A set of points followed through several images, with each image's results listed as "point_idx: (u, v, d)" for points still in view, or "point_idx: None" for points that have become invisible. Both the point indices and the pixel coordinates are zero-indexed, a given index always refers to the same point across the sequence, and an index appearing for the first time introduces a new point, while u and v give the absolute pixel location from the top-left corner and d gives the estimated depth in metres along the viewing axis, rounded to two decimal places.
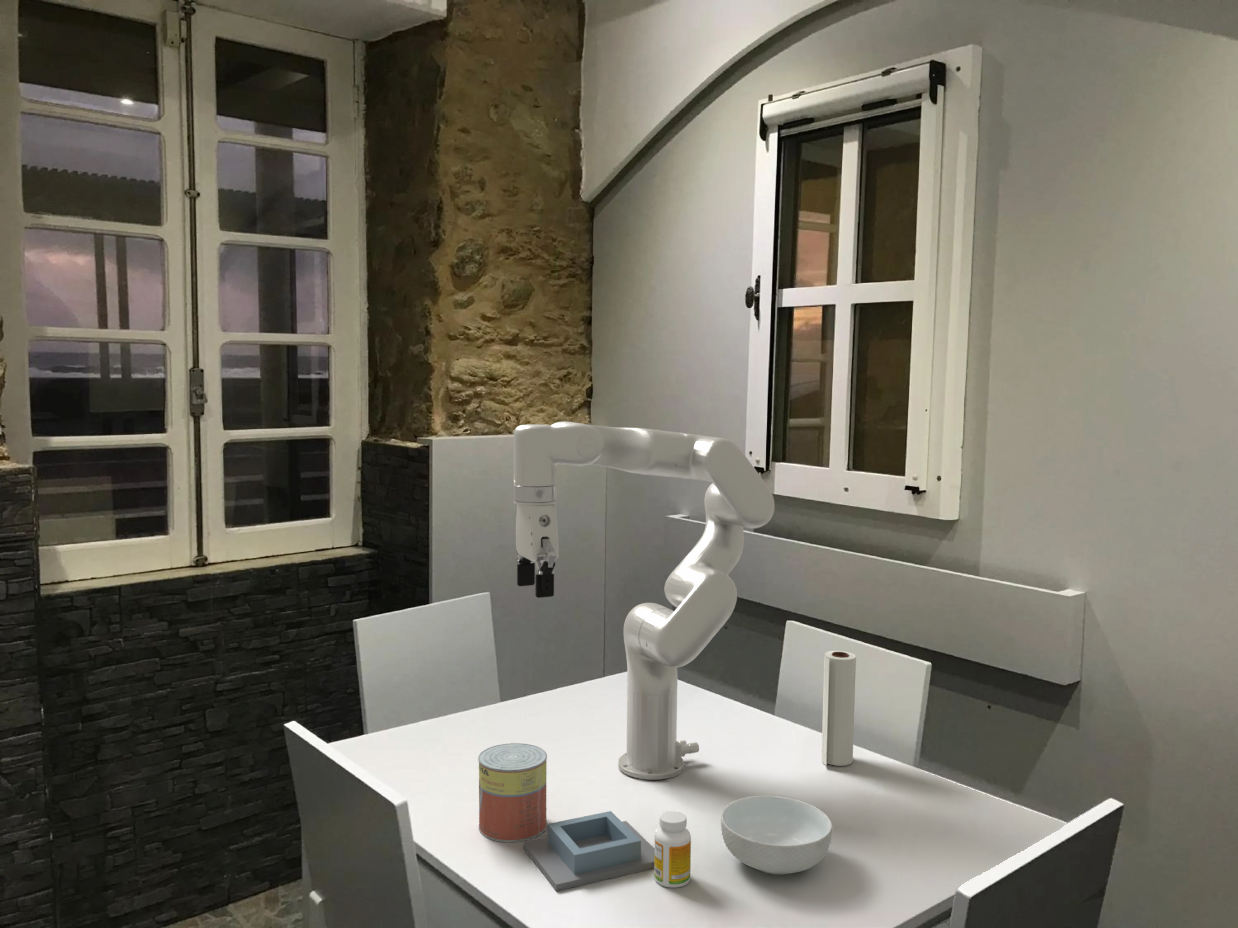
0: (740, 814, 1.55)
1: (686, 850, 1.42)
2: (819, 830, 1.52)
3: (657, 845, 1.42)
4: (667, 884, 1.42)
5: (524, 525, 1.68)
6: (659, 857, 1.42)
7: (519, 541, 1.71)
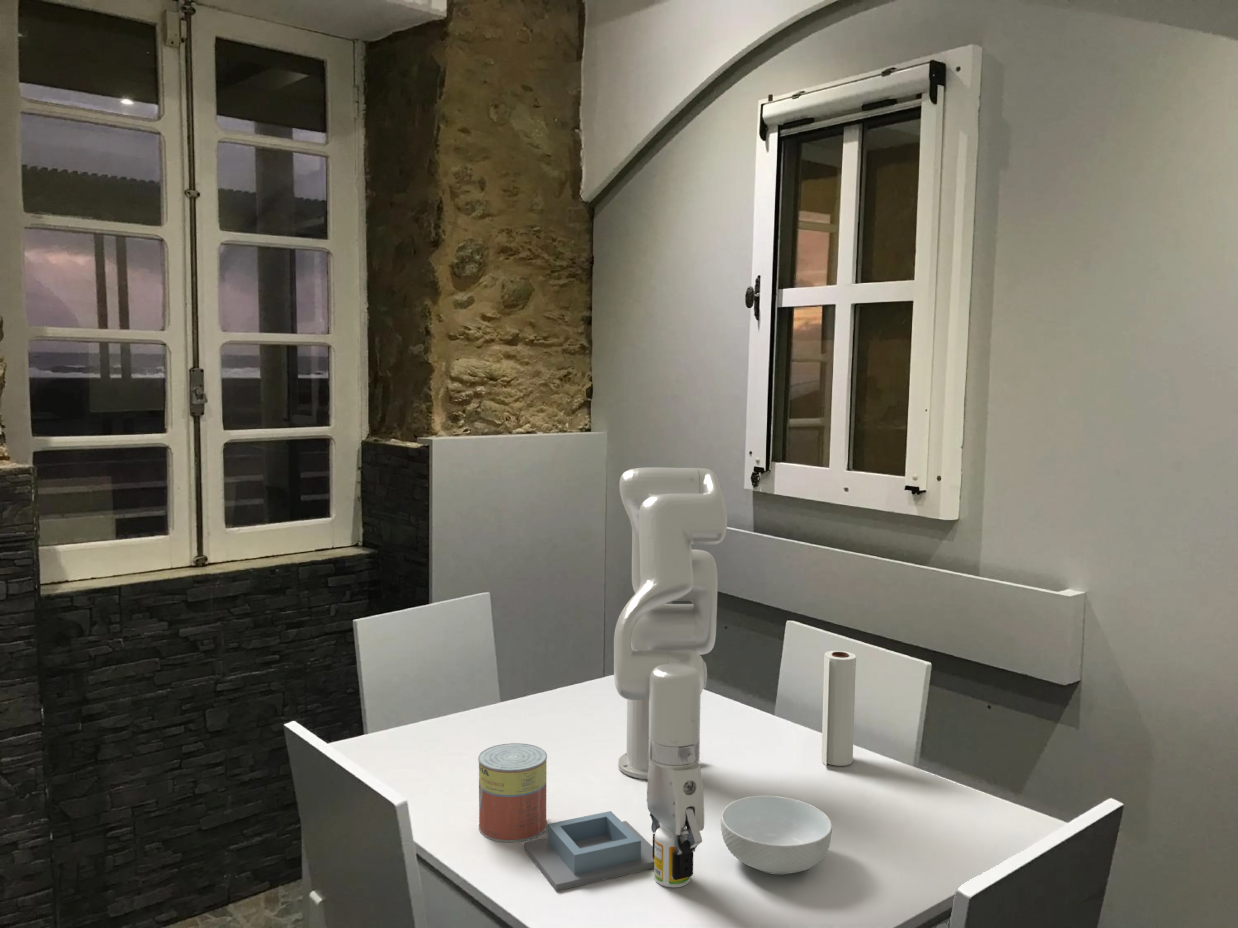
0: (740, 814, 1.55)
1: None
2: (819, 830, 1.52)
3: (657, 845, 1.42)
4: (667, 884, 1.42)
5: (663, 789, 1.41)
6: (659, 857, 1.42)
7: (654, 802, 1.44)
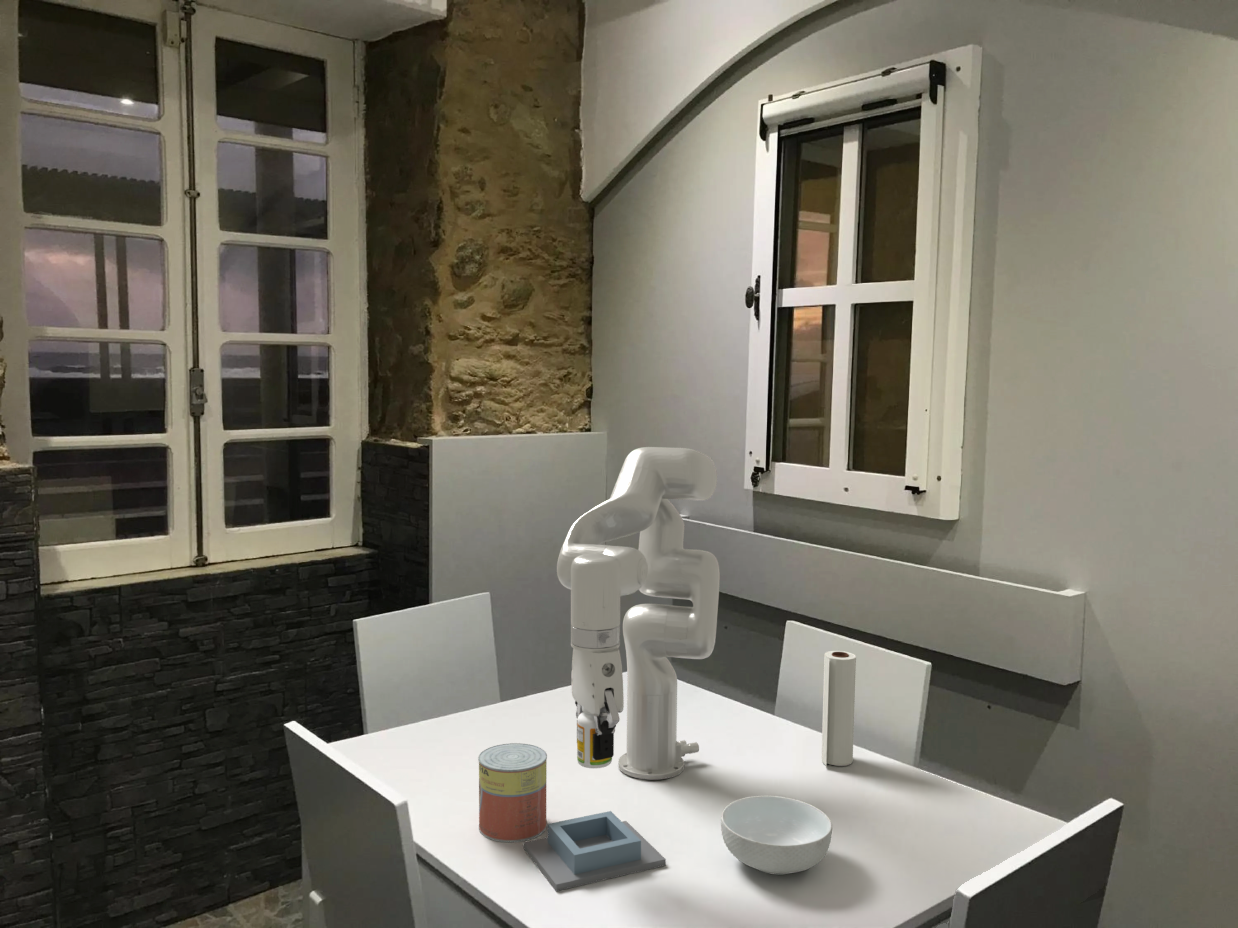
0: (740, 814, 1.55)
1: None
2: (819, 830, 1.52)
3: (579, 728, 1.47)
4: (588, 765, 1.47)
5: (584, 672, 1.46)
6: (580, 739, 1.47)
7: (576, 687, 1.49)
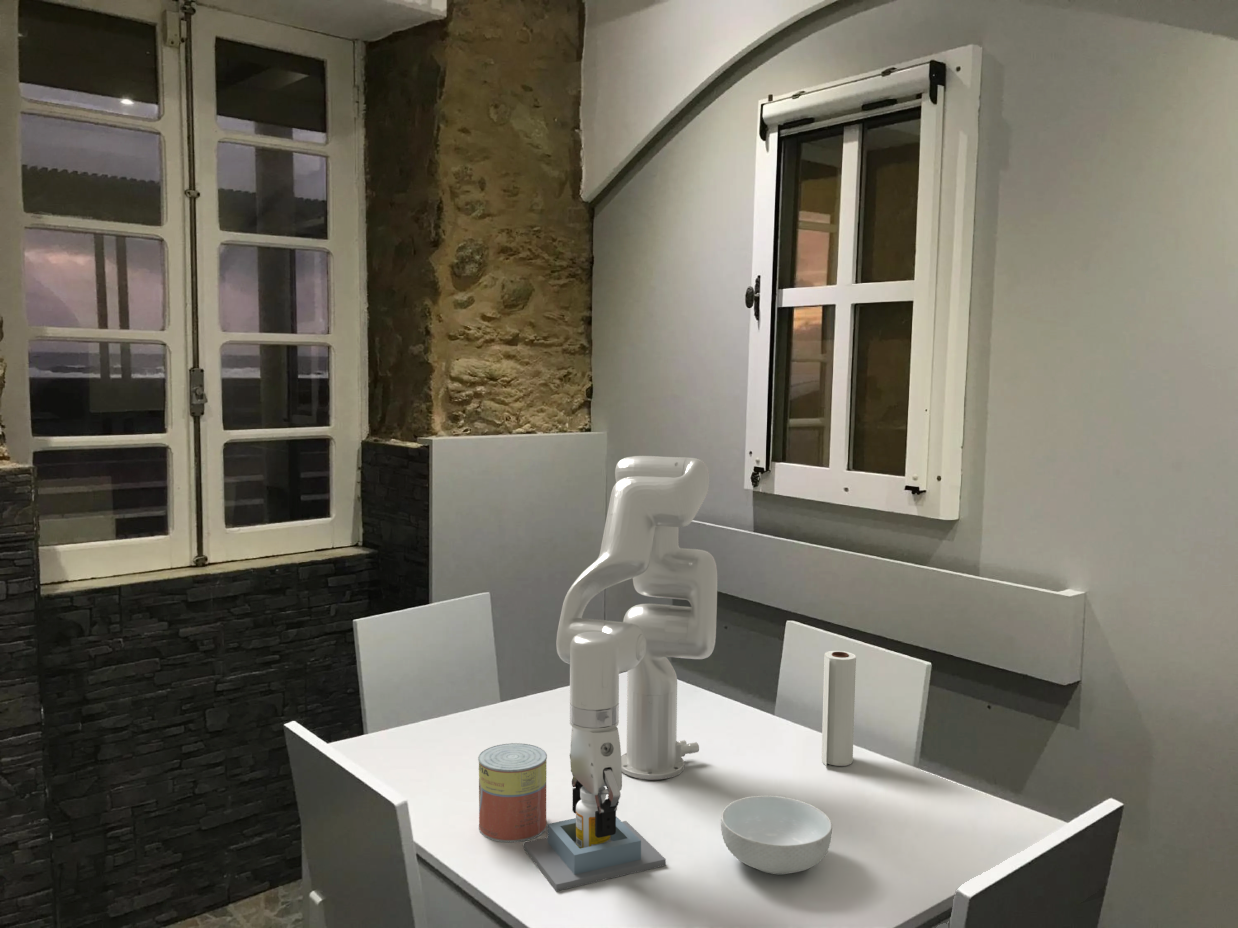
0: (740, 814, 1.55)
1: None
2: (819, 830, 1.52)
3: (578, 816, 1.49)
4: None
5: (582, 751, 1.47)
6: (579, 827, 1.49)
7: (575, 764, 1.50)
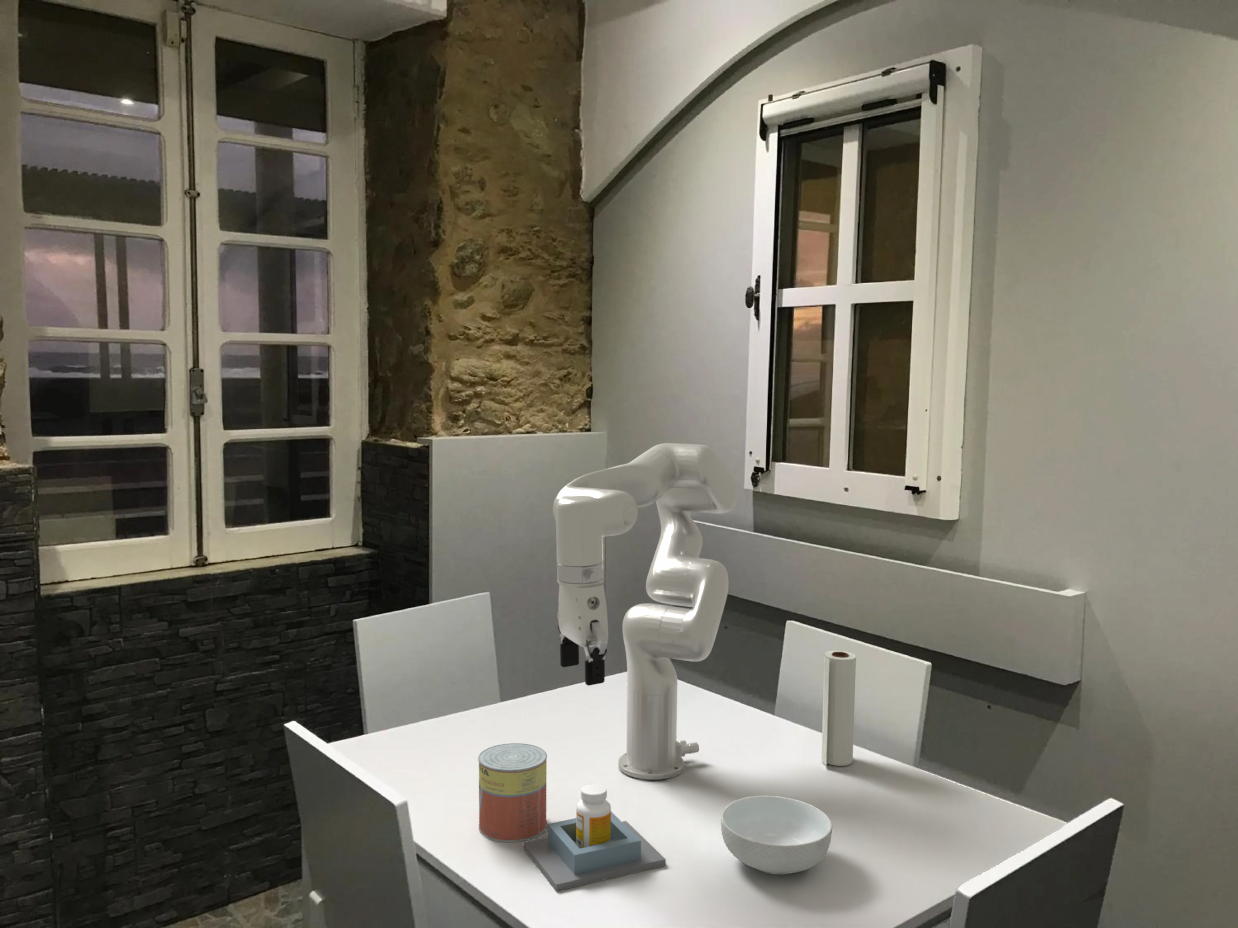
0: (740, 814, 1.55)
1: (605, 820, 1.49)
2: (819, 830, 1.52)
3: (578, 816, 1.49)
4: None
5: (570, 607, 1.55)
6: (580, 827, 1.49)
7: (563, 622, 1.58)
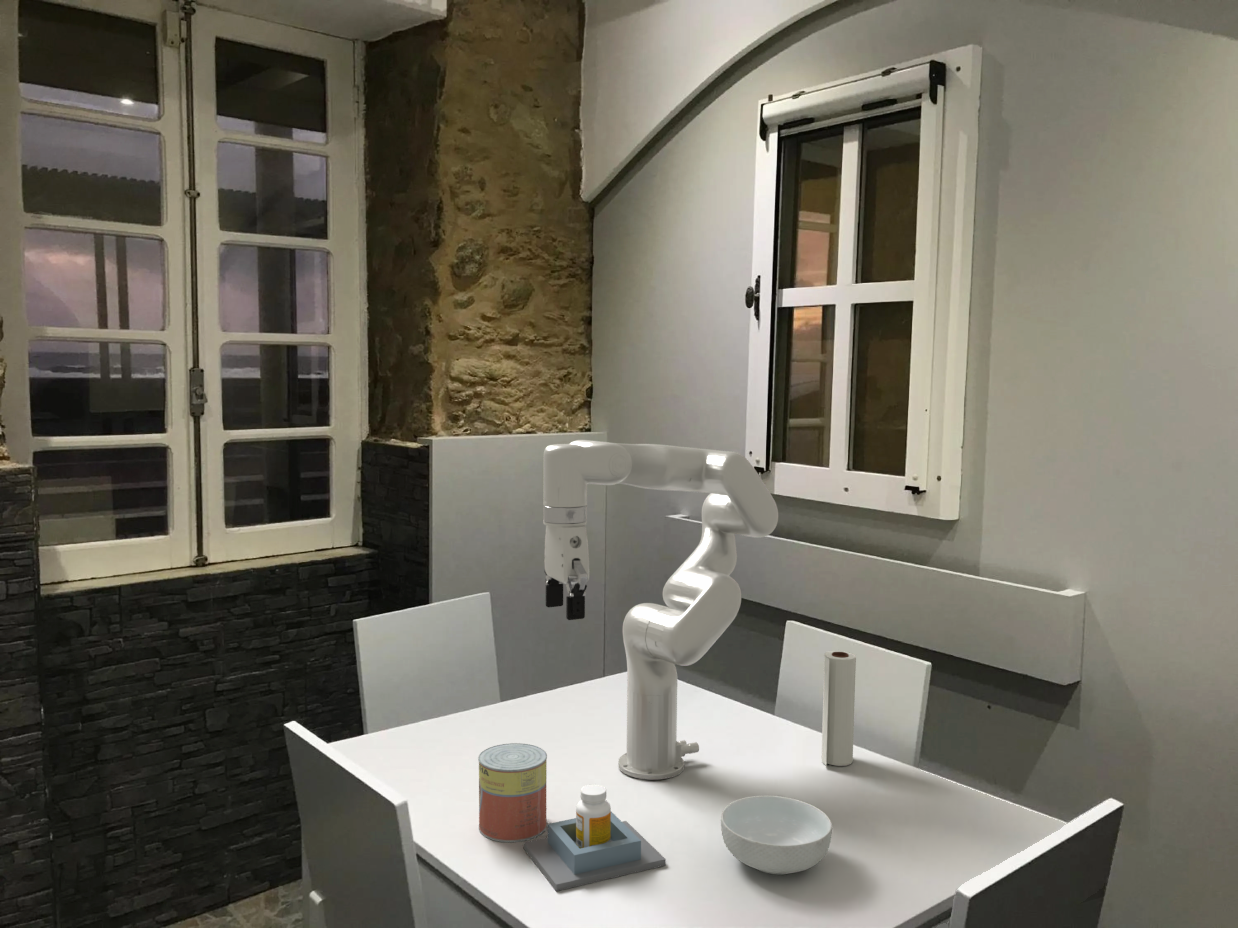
0: (740, 814, 1.55)
1: (605, 820, 1.49)
2: (819, 830, 1.52)
3: (578, 816, 1.49)
4: None
5: (554, 546, 1.66)
6: (580, 828, 1.49)
7: (548, 562, 1.69)
